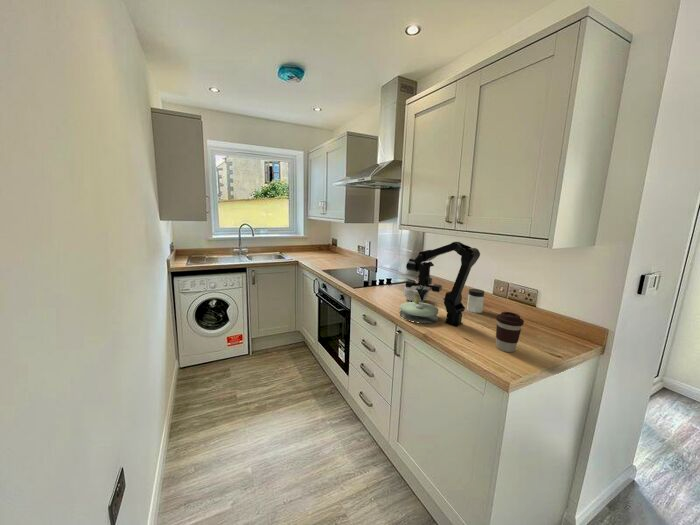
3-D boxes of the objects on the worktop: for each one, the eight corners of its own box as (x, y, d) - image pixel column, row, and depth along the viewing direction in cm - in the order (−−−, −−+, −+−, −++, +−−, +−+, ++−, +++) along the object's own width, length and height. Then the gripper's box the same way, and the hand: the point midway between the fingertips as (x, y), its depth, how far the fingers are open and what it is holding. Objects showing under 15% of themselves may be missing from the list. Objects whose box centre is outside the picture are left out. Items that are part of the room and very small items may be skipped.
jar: (466, 307, 174) (468, 287, 172) (480, 309, 172) (483, 289, 170) (467, 311, 166) (469, 291, 164) (482, 314, 164) (485, 293, 161)
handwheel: (442, 309, 157) (443, 299, 156) (431, 319, 141) (432, 308, 140) (408, 301, 167) (409, 292, 166) (394, 310, 151) (394, 300, 150)
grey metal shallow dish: (445, 318, 153) (446, 312, 152) (421, 326, 141) (422, 320, 140) (415, 308, 168) (416, 302, 168) (391, 314, 156) (391, 308, 155)
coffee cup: (490, 349, 121) (495, 314, 118) (494, 341, 129) (498, 308, 126) (517, 356, 115) (523, 320, 113) (519, 347, 124) (525, 314, 121)
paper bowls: (432, 302, 180) (434, 290, 179) (412, 305, 173) (414, 292, 172) (417, 295, 194) (418, 284, 192) (398, 297, 187) (399, 285, 186)
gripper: (445, 273, 160) (443, 300, 163) (413, 269, 170) (411, 294, 173) (439, 276, 151) (437, 305, 153) (405, 272, 161) (404, 299, 163)
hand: (422, 301), depth 161 cm, fingers closed
